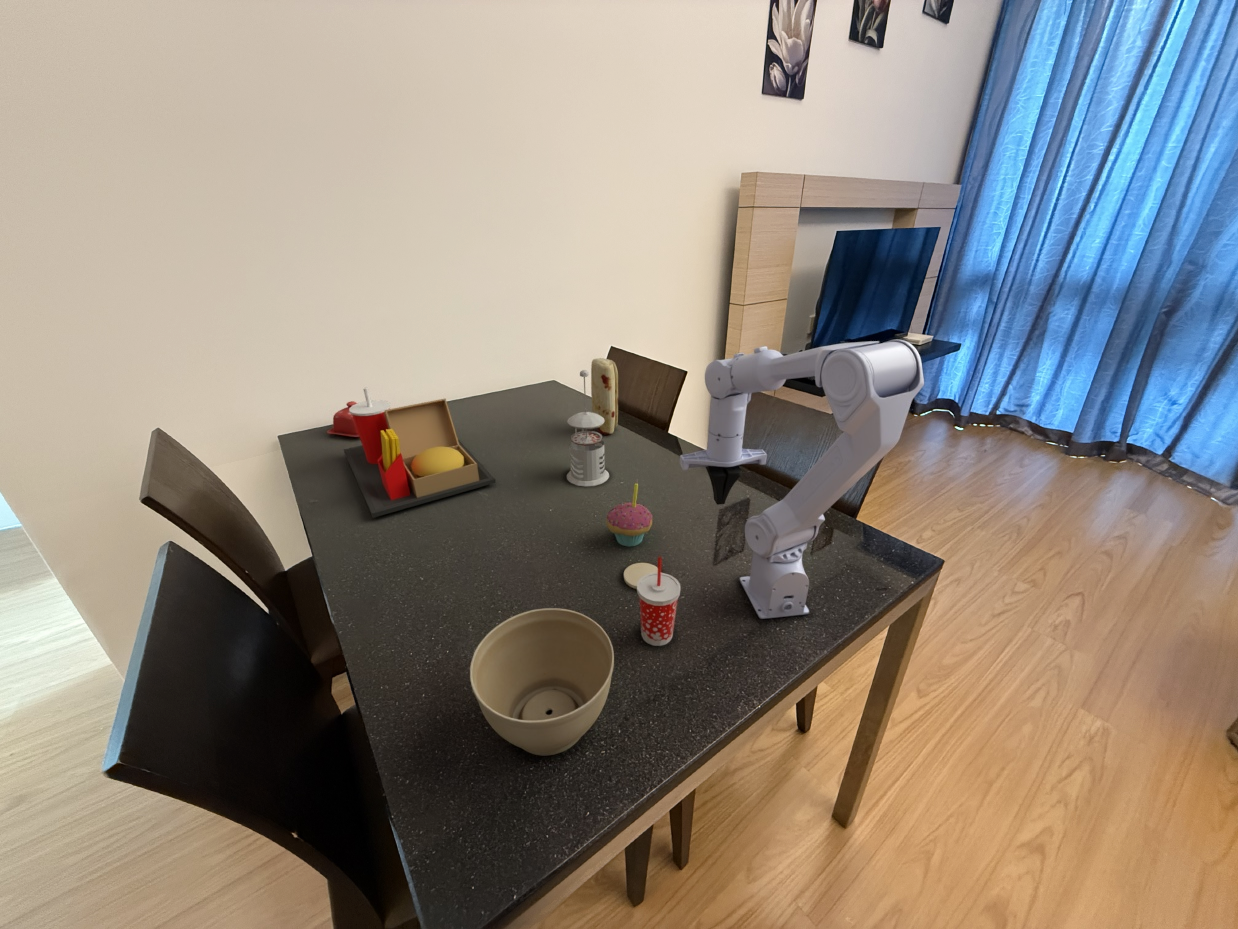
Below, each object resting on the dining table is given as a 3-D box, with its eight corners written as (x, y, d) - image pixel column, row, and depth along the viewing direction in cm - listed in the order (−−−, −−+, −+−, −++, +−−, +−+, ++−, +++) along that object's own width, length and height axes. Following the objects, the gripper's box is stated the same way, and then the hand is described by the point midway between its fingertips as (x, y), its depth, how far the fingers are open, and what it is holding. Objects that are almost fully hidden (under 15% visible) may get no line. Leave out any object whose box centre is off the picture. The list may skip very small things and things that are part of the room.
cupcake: (626, 521, 104) (626, 468, 98) (661, 537, 99) (663, 481, 94) (597, 541, 98) (595, 485, 92) (633, 559, 93) (634, 501, 88)
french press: (572, 489, 115) (566, 379, 104) (560, 466, 125) (554, 363, 114) (614, 482, 118) (613, 374, 107) (600, 460, 128) (597, 359, 116)
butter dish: (356, 421, 151) (349, 392, 147) (389, 425, 148) (383, 397, 144) (325, 436, 141) (316, 407, 137) (360, 442, 138) (352, 411, 134)
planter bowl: (464, 703, 67) (451, 640, 62) (576, 651, 75) (573, 591, 70) (511, 816, 55) (500, 749, 50) (639, 740, 62) (641, 675, 57)
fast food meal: (374, 522, 104) (352, 436, 96) (345, 456, 130) (326, 385, 122) (496, 486, 117) (486, 408, 108) (447, 433, 143) (436, 366, 134)
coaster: (665, 587, 86) (665, 585, 86) (626, 591, 86) (626, 588, 85) (657, 563, 92) (657, 561, 92) (621, 567, 91) (621, 564, 91)
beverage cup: (663, 656, 74) (666, 577, 67) (627, 637, 77) (628, 560, 71) (685, 631, 78) (691, 554, 72) (651, 613, 81) (653, 538, 75)
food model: (587, 426, 146) (584, 355, 137) (609, 422, 149) (608, 352, 140) (600, 439, 138) (598, 365, 129) (623, 435, 141) (623, 362, 132)
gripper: (759, 418, 91) (750, 487, 97) (677, 423, 89) (673, 493, 95) (775, 435, 85) (765, 507, 91) (687, 441, 83) (683, 514, 89)
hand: (719, 501), depth 93 cm, fingers closed
